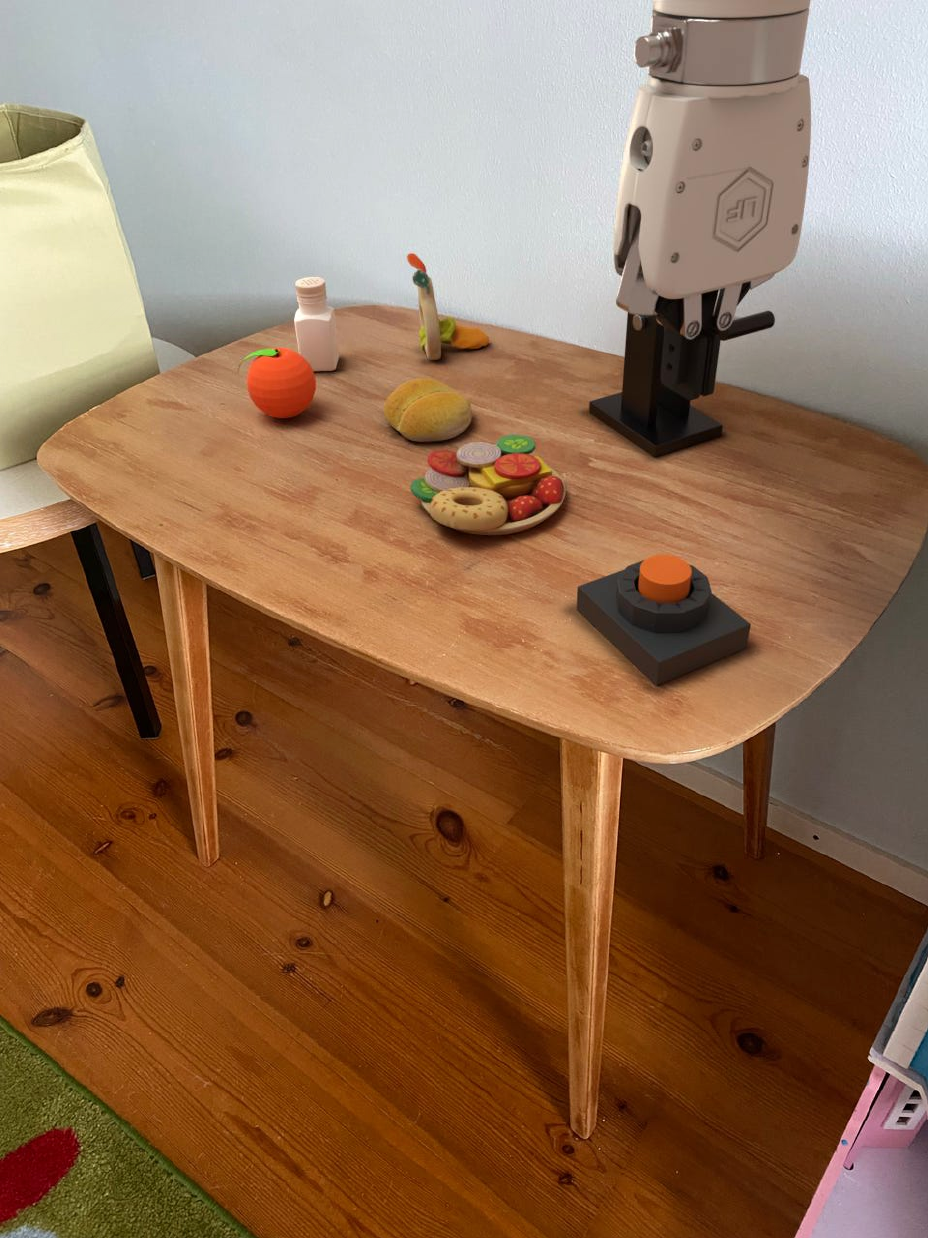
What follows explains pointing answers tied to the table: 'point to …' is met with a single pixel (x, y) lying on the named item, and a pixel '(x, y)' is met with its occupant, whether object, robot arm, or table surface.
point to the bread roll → (427, 411)
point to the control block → (663, 624)
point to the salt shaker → (316, 325)
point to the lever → (748, 325)
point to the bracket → (651, 397)
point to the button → (664, 579)
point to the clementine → (280, 382)
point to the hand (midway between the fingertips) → (686, 388)
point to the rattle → (435, 329)
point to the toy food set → (490, 487)
